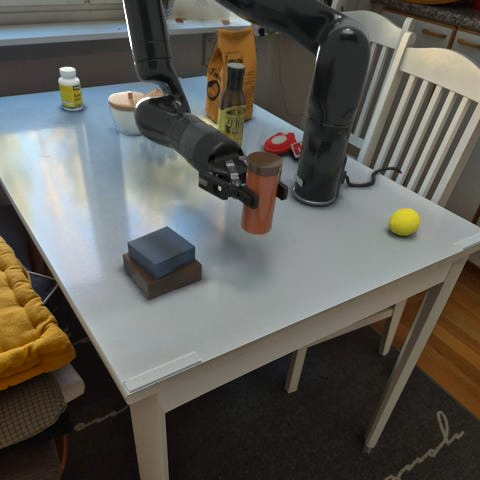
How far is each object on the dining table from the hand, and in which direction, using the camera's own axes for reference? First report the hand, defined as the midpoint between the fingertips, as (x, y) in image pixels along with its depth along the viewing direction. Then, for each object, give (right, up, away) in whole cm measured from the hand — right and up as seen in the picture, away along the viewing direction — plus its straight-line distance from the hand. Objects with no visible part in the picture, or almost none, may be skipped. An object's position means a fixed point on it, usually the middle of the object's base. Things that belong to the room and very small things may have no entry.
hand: (271, 198), depth 70 cm
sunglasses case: (-27, +40, +61) cm, 78 cm away
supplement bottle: (-50, +40, +58) cm, 87 cm away
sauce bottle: (-7, +23, +46) cm, 52 cm away
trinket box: (-32, +31, +51) cm, 68 cm away
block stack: (-18, -10, +10) cm, 23 cm away
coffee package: (-8, +39, +62) cm, 74 cm away
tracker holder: (+7, +24, +48) cm, 54 cm away
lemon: (+28, -1, +25) cm, 38 cm away
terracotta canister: (-2, -3, +6) cm, 7 cm away
